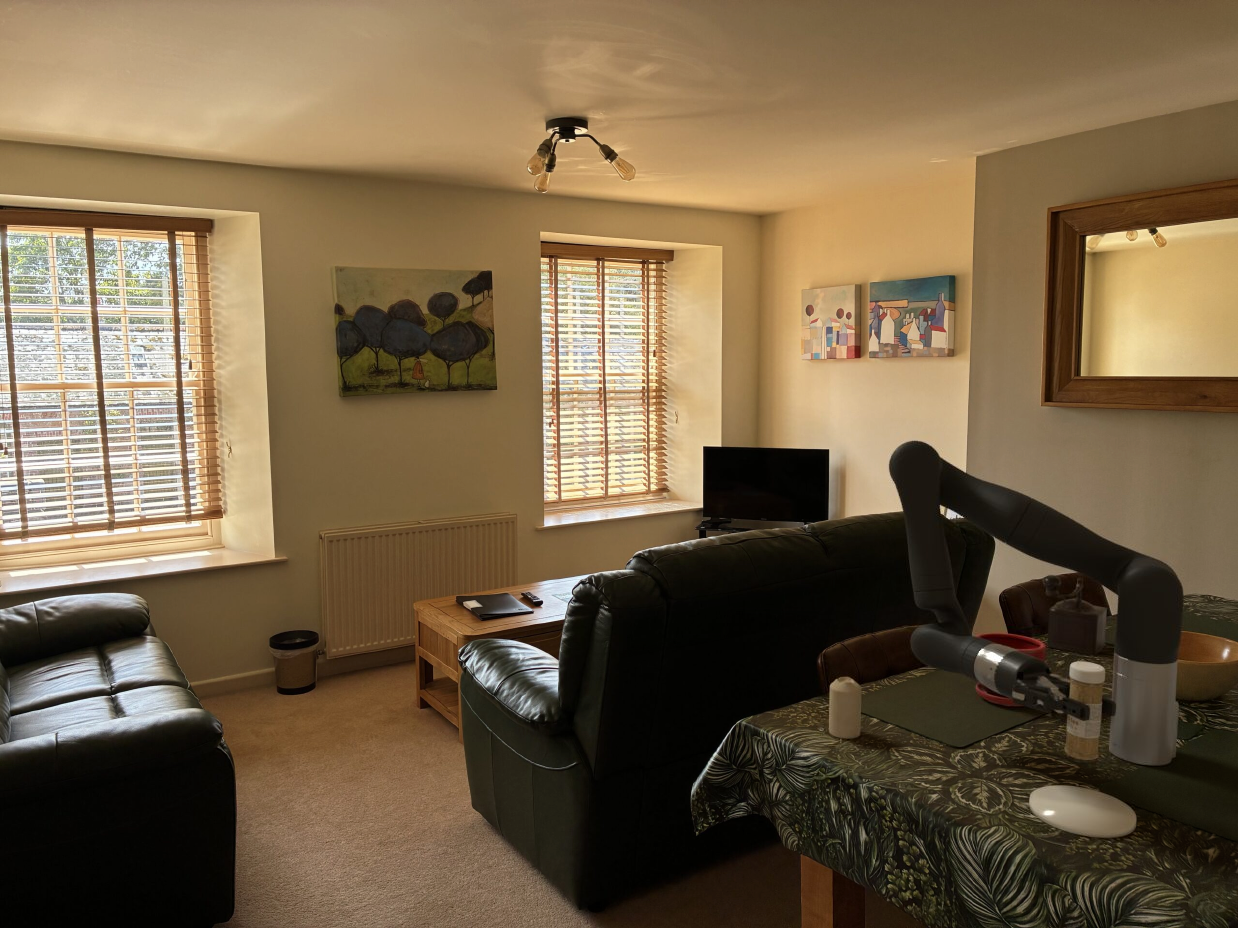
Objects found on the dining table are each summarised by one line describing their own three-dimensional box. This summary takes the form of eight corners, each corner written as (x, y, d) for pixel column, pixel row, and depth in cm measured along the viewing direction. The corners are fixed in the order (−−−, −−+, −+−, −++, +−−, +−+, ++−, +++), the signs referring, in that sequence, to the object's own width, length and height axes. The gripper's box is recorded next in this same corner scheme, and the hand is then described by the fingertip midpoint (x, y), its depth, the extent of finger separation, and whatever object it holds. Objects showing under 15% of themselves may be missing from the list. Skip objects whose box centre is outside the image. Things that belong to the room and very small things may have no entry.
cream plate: (1078, 785, 143) (1078, 779, 143) (1159, 826, 130) (1159, 820, 130) (1008, 800, 138) (1008, 794, 138) (1084, 845, 125) (1084, 838, 125)
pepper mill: (1056, 637, 223) (1059, 564, 221) (1106, 645, 215) (1110, 570, 213) (1036, 652, 211) (1039, 575, 209) (1088, 661, 204) (1092, 582, 202)
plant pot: (1052, 712, 174) (1055, 651, 173) (980, 708, 176) (982, 648, 175) (1032, 688, 187) (1035, 631, 185) (965, 685, 189) (967, 629, 187)
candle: (861, 740, 161) (862, 685, 160) (829, 737, 162) (830, 683, 161) (859, 728, 167) (860, 674, 166) (828, 725, 168) (829, 673, 167)
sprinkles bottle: (1057, 748, 136) (1063, 660, 134) (1087, 747, 136) (1093, 659, 135) (1076, 761, 131) (1082, 671, 130) (1106, 760, 132) (1112, 670, 130)
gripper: (976, 654, 143) (1064, 692, 127) (1047, 645, 148) (1140, 680, 132) (974, 701, 144) (1061, 744, 128) (1044, 690, 149) (1136, 730, 133)
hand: (1100, 711), depth 130 cm, fingers closed on sprinkles bottle, 4 cm apart
